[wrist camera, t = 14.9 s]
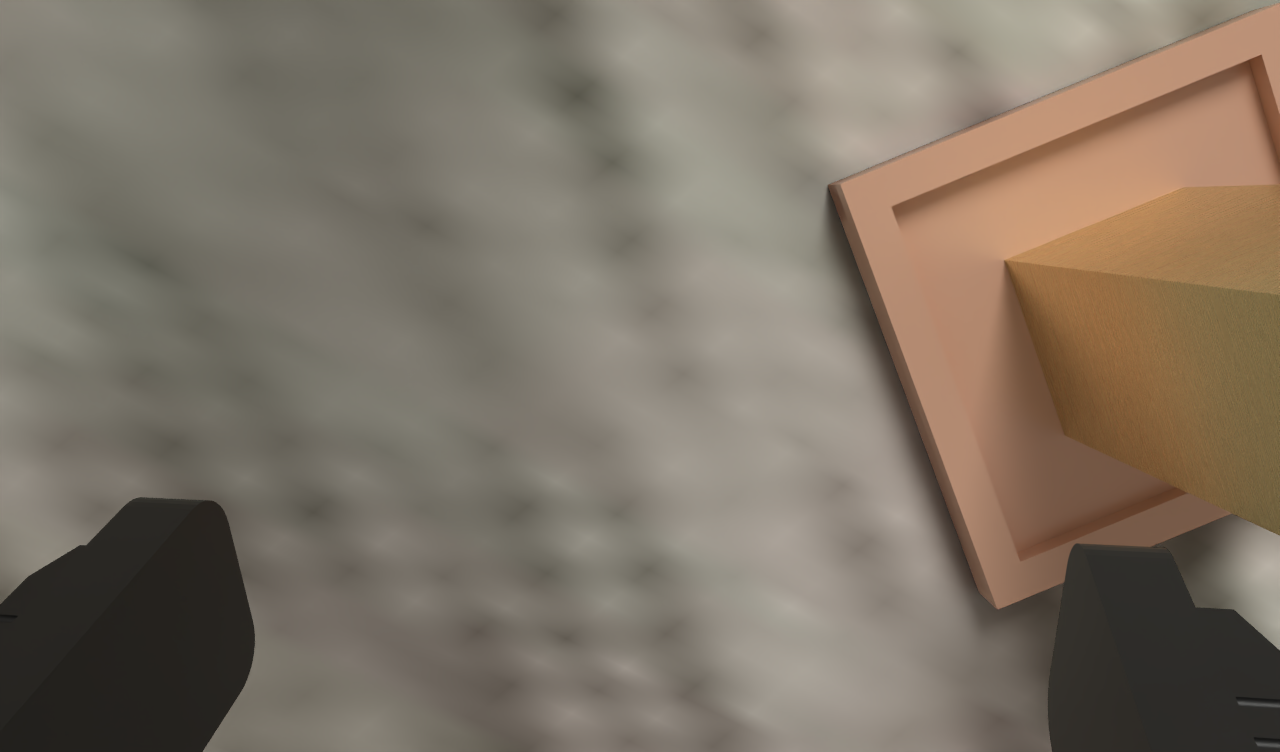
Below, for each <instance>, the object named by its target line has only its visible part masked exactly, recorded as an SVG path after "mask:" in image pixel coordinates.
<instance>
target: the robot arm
mask: <svg viewBox="0 0 1280 752" xmlns="http://www.w3.org/2000/svg"><path fill="white" fill-rule="evenodd" d="M254 646H255V633H254V625H253V620H252V616H251V612H250V608H249V604H248V600H247V596H246V592H245V588H244V583H243V579H242V575H241V571H240V567H239V563H238V559H237V555H236V551H235V547H234V543H233V539H232V535H231V531H230V527H229V523H228V520H227V517H226V515H225V513H224V511H223V509H222V508H221V506H220V505H218V504H217V503H216V502H214V501H207V500H186V499H164V498H143V497H140V498H136V499H133V500H132V501H130V502H129V503H127V504H126V505H125V506H124V507H123V508H122V509H121V510H120V511H119V512H118V513H117V514H116V515H115V516H114V517H113V518H112V519H111V520H110V521H109V523H108V524H107V525H106V526H105V527H104V528H103V529H102V530H101V531H100V532H99V533H98V534H97V535H96V536H95V537H94V538H93V539H92V540H91V541H90V542H89V543H88V544H87V545H80V546H78V547H76V548H75V549H73V550H71V551H70V552H68V553H66V554H65V555H63V556H61V557H60V558H58V559H57V560H55V561H53V562H52V563H50V564H48V565H47V566H45V567H43V568H42V569H40V570H38V571H37V572H35V573H33V574H32V575H30V576H28V577H27V578H26V579H25V580H24V581H23V582H22V583H21V584H20V585H19V586H18V587H17V588H16V589H15V590H14V591H13V592H12V593H11V594H10V595H9V596H8V597H7V598H6V599H5V600H4V601H3V602H2V603H1V604H0V752H203V750H204V748H205V747H206V745H207V744H208V742H209V741H210V739H211V738H212V736H213V734H214V733H215V731H216V730H217V728H218V727H219V725H220V724H221V722H222V720H223V719H224V717H225V716H226V714H227V713H228V711H229V710H230V708H231V706H232V705H233V703H234V702H235V700H236V699H237V697H238V695H239V694H240V692H241V691H242V689H243V687H244V685H245V683H246V681H247V678H248V675H249V672H250V669H251V665H252V661H253V655H254ZM1048 720H1049V732H1050V740H1051V747H1052V752H1280V650H1278V649H1277V648H1276V647H1275V646H1274V645H1273V644H1272V643H1271V642H1269V641H1268V640H1267V639H1266V638H1265V637H1264V636H1263V635H1262V634H1261V633H1259V632H1258V631H1257V630H1256V629H1255V628H1254V627H1253V626H1252V625H1250V624H1249V623H1248V622H1247V621H1246V620H1245V619H1244V618H1243V617H1241V616H1240V615H1239V614H1238V613H1237V612H1236V611H1235V610H1231V609H1213V608H1195V606H1194V603H1193V601H1192V599H1191V597H1190V594H1189V592H1188V590H1187V588H1186V585H1185V583H1184V581H1183V579H1182V576H1181V574H1180V572H1179V570H1178V567H1177V565H1176V563H1175V561H1174V559H1173V557H1172V555H1171V553H1170V552H1169V551H1168V549H1166V548H1164V547H1144V546H1122V545H1101V544H1080V543H1076V544H1075V545H1074V546H1073V547H1072V549H1071V552H1070V554H1069V558H1068V563H1067V568H1066V575H1065V581H1064V587H1063V594H1062V600H1061V607H1060V613H1059V619H1058V626H1057V632H1056V638H1055V645H1054V651H1053V658H1052V664H1051V670H1050V678H1049V688H1048Z"/></svg>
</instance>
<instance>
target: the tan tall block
mask: <svg viewBox="0 0 1280 752" xmlns="http://www.w3.org/2000/svg"><path fill="white" fill-rule="evenodd" d="M1004 261H1005V264H1006V267H1007V270H1008V272H1009V275H1010V278H1011V281H1012V284H1013V287H1014V290H1015V293H1016V296H1017V298H1018V301H1019V304H1020V307H1021V310H1022V313H1023V316H1024V319H1025V322H1026V325H1027V327H1028V330H1029V333H1030V336H1031V339H1032V342H1033V345H1034V348H1035V351H1036V354H1037V356H1038V359H1039V362H1040V365H1041V368H1042V371H1043V374H1044V377H1045V380H1046V383H1047V385H1048V388H1049V391H1050V394H1051V397H1052V400H1053V403H1054V406H1055V409H1056V412H1057V414H1058V417H1059V420H1060V423H1061V426H1062V429H1063V432H1064V435H1065V436H1067V437H1069V438H1071V439H1073V440H1075V441H1078V442H1080V443H1082V444H1084V445H1086V446H1088V447H1090V448H1093V449H1095V450H1097V451H1099V452H1101V453H1103V454H1106V455H1108V456H1110V457H1112V458H1114V459H1116V460H1118V461H1121V462H1123V463H1125V464H1127V465H1129V466H1131V467H1133V468H1136V469H1138V470H1140V471H1142V472H1144V473H1146V474H1149V475H1151V476H1153V477H1155V478H1157V479H1159V480H1161V481H1164V482H1166V483H1168V484H1170V485H1172V486H1174V487H1176V488H1179V489H1181V490H1183V491H1185V492H1187V493H1189V494H1192V495H1194V496H1196V497H1198V498H1200V499H1202V500H1204V501H1207V502H1209V503H1211V504H1213V505H1215V506H1217V507H1219V508H1222V509H1224V510H1226V511H1228V512H1230V513H1232V514H1235V515H1237V516H1239V517H1241V518H1243V519H1245V520H1247V521H1250V522H1252V523H1254V524H1256V525H1258V526H1260V527H1263V528H1265V529H1267V530H1269V531H1271V532H1273V533H1275V534H1278V535H1280V184H1276V185H1242V186H1207V187H1183V188H1180V189H1178V190H1175V191H1173V192H1170V193H1168V194H1165V195H1163V196H1161V197H1158V198H1156V199H1153V200H1151V201H1148V202H1146V203H1143V204H1141V205H1138V206H1136V207H1134V208H1131V209H1129V210H1126V211H1124V212H1121V213H1119V214H1116V215H1114V216H1111V217H1109V218H1106V219H1104V220H1102V221H1099V222H1097V223H1094V224H1092V225H1089V226H1087V227H1084V228H1082V229H1079V230H1077V231H1075V232H1072V233H1070V234H1067V235H1065V236H1062V237H1060V238H1057V239H1055V240H1052V241H1050V242H1047V243H1045V244H1043V245H1040V246H1038V247H1035V248H1033V249H1030V250H1028V251H1025V252H1023V253H1020V254H1018V255H1015V256H1013V257H1011V258H1008V259H1006V260H1004Z"/></svg>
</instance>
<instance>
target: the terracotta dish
mask: <svg viewBox="0 0 1280 752" xmlns="http://www.w3.org/2000/svg"><path fill="white" fill-rule="evenodd" d="M1276 184H1280V3H1277V4H1273V5H1270V6H1266V7H1263V8H1259V9H1256V10H1253V11H1250V12H1248V13H1245V14H1243V15H1241V16H1238V17H1236V18H1233V19H1231V20H1228V21H1226V22H1224V23H1221V24H1219V25H1216V26H1214V27H1211V28H1209V29H1206V30H1204V31H1202V32H1199V33H1197V34H1194V35H1192V36H1189V37H1187V38H1185V39H1182V40H1180V41H1177V42H1175V43H1172V44H1170V45H1168V46H1165V47H1163V48H1160V49H1158V50H1155V51H1153V52H1150V53H1148V54H1146V55H1143V56H1141V57H1138V58H1136V59H1133V60H1131V61H1129V62H1126V63H1124V64H1121V65H1119V66H1116V67H1114V68H1112V69H1109V70H1107V71H1104V72H1102V73H1099V74H1097V75H1094V76H1092V77H1090V78H1087V79H1085V80H1082V81H1080V82H1077V83H1075V84H1073V85H1070V86H1068V87H1065V88H1063V89H1060V90H1058V91H1056V92H1053V93H1051V94H1048V95H1046V96H1043V97H1041V98H1038V99H1036V100H1034V101H1031V102H1029V103H1026V104H1024V105H1021V106H1019V107H1017V108H1014V109H1012V110H1009V111H1007V112H1004V113H1002V114H1000V115H997V116H995V117H992V118H990V119H987V120H985V121H982V122H980V123H978V124H975V125H973V126H970V127H968V128H965V129H963V130H961V131H958V132H956V133H953V134H951V135H948V136H946V137H944V138H941V139H939V140H936V141H934V142H931V143H929V144H926V145H924V146H922V147H919V148H917V149H914V150H912V151H909V152H907V153H905V154H902V155H900V156H897V157H895V158H892V159H890V160H888V161H885V162H883V163H880V164H878V165H875V166H873V167H870V168H868V169H866V170H863V171H861V172H858V173H856V174H853V175H851V176H849V177H846V178H844V179H841V180H839V181H836V182H834V183H832V184H829V185H828V187H829V190H830V193H831V195H832V198H833V201H834V203H835V206H836V209H837V211H838V214H839V217H840V219H841V222H842V225H843V228H844V230H845V233H846V236H847V238H848V241H849V244H850V246H851V249H852V252H853V254H854V257H855V260H856V263H857V265H858V268H859V271H860V273H861V276H862V279H863V281H864V284H865V287H866V289H867V292H868V295H869V298H870V300H871V303H872V306H873V308H874V311H875V314H876V316H877V319H878V322H879V324H880V327H881V330H882V333H883V335H884V338H885V341H886V343H887V346H888V349H889V351H890V354H891V357H892V360H893V362H894V365H895V368H896V370H897V373H898V376H899V378H900V381H901V384H902V386H903V389H904V392H905V395H906V397H907V400H908V403H909V405H910V408H911V411H912V413H913V416H914V419H915V421H916V424H917V427H918V430H919V432H920V435H921V438H922V440H923V443H924V446H925V448H926V451H927V454H928V456H929V459H930V462H931V465H932V467H933V470H934V473H935V475H936V478H937V481H938V483H939V486H940V489H941V491H942V494H943V497H944V500H945V502H946V505H947V508H948V510H949V513H950V516H951V518H952V521H953V524H954V527H955V529H956V532H957V535H958V537H959V540H960V543H961V545H962V548H963V551H964V553H965V556H966V559H967V562H968V564H969V567H970V570H971V572H972V575H973V578H974V580H975V583H976V586H977V588H978V591H979V593H980V594H981V595H982V596H983V597H985V598H986V599H987V600H988V601H989V602H990V603H991V604H992V605H993V606H994V607H995V608H996V609H997V610H998V609H1001V608H1003V607H1006V606H1008V605H1010V604H1013V603H1015V602H1018V601H1020V600H1023V599H1025V598H1027V597H1030V596H1032V595H1035V594H1037V593H1040V592H1042V591H1044V590H1047V589H1049V588H1052V587H1054V586H1057V585H1059V584H1062V583H1064V581H1065V575H1066V568H1067V563H1068V558H1069V554H1070V552H1071V549H1072V547H1073V546H1074V545H1075V544H1076V543H1080V544H1101V545H1122V546H1144V547H1152V546H1154V545H1156V544H1159V543H1161V542H1164V541H1166V540H1169V539H1171V538H1173V537H1176V536H1178V535H1181V534H1183V533H1186V532H1188V531H1190V530H1193V529H1195V528H1198V527H1200V526H1203V525H1205V524H1207V523H1210V522H1212V521H1215V520H1217V519H1220V518H1222V517H1225V516H1227V515H1229V514H1232V513H1230V512H1228V511H1226V510H1224V509H1222V508H1219V507H1217V506H1215V505H1213V504H1211V503H1209V502H1207V501H1204V500H1202V499H1200V498H1198V497H1196V496H1194V495H1192V494H1189V493H1187V492H1185V491H1183V490H1181V489H1179V488H1176V487H1174V486H1172V485H1170V484H1168V483H1166V482H1164V481H1161V480H1159V479H1157V478H1155V477H1153V476H1151V475H1149V474H1146V473H1144V472H1142V471H1140V470H1138V469H1136V468H1133V467H1131V466H1129V465H1127V464H1125V463H1123V462H1121V461H1118V460H1116V459H1114V458H1112V457H1110V456H1108V455H1106V454H1103V453H1101V452H1099V451H1097V450H1095V449H1093V448H1090V447H1088V446H1086V445H1084V444H1082V443H1080V442H1078V441H1075V440H1073V439H1071V438H1069V437H1067V436H1065V435H1064V432H1063V429H1062V426H1061V423H1060V420H1059V417H1058V414H1057V412H1056V409H1055V406H1054V403H1053V400H1052V397H1051V394H1050V391H1049V388H1048V385H1047V383H1046V380H1045V377H1044V374H1043V371H1042V368H1041V365H1040V362H1039V359H1038V356H1037V354H1036V351H1035V348H1034V345H1033V342H1032V339H1031V336H1030V333H1029V330H1028V327H1027V325H1026V322H1025V319H1024V316H1023V313H1022V310H1021V307H1020V304H1019V301H1018V298H1017V296H1016V293H1015V290H1014V287H1013V284H1012V281H1011V278H1010V275H1009V272H1008V270H1007V267H1006V264H1005V261H1004V260H1006V259H1008V258H1011V257H1013V256H1015V255H1018V254H1020V253H1023V252H1025V251H1028V250H1030V249H1033V248H1035V247H1038V246H1040V245H1043V244H1045V243H1047V242H1050V241H1052V240H1055V239H1057V238H1060V237H1062V236H1065V235H1067V234H1070V233H1072V232H1075V231H1077V230H1079V229H1082V228H1084V227H1087V226H1089V225H1092V224H1094V223H1097V222H1099V221H1102V220H1104V219H1106V218H1109V217H1111V216H1114V215H1116V214H1119V213H1121V212H1124V211H1126V210H1129V209H1131V208H1134V207H1136V206H1138V205H1141V204H1143V203H1146V202H1148V201H1151V200H1153V199H1156V198H1158V197H1161V196H1163V195H1165V194H1168V193H1170V192H1173V191H1175V190H1178V189H1180V188H1183V187H1207V186H1242V185H1276Z"/></svg>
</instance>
